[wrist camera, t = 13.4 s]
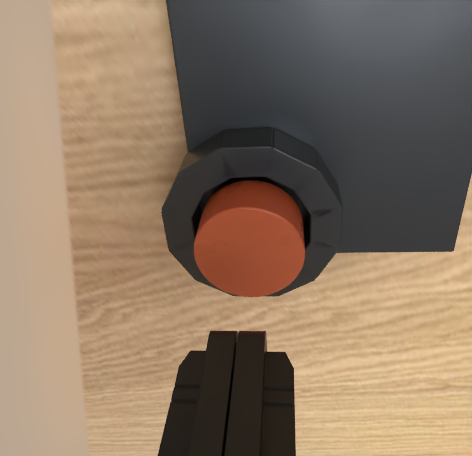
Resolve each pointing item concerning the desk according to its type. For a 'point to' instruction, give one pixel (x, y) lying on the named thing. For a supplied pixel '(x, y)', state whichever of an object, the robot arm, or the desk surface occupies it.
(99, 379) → the desk surface
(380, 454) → the desk surface
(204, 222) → the button
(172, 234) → the button box
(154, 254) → the desk surface
